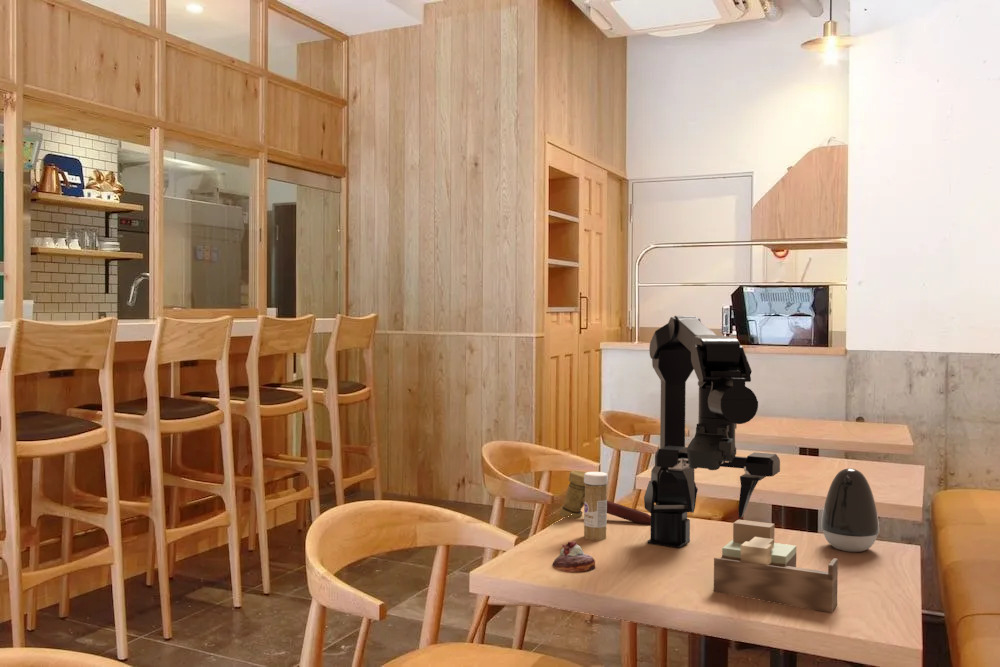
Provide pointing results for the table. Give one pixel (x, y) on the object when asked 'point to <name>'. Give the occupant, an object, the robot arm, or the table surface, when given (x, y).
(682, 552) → the table surface
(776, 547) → the lid
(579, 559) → the pastry
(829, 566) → the toolbox
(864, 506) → the grey white egg shape
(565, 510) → the gavel
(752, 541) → the tan wooden block
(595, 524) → the sprinkles bottle
